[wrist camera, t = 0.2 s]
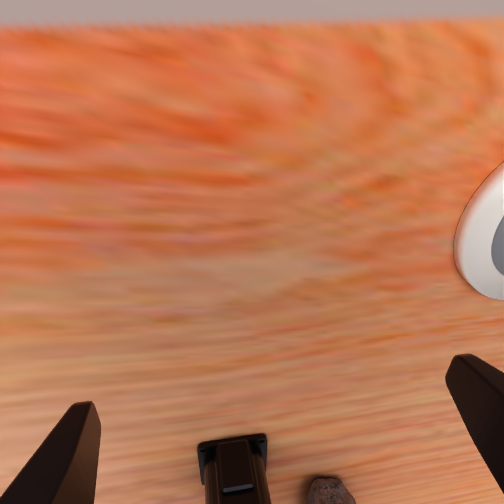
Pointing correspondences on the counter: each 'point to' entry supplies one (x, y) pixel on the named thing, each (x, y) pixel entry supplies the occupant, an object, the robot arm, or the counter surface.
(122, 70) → the counter surface
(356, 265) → the counter surface
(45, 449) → the robot arm
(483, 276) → the serving plate
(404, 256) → the counter surface
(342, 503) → the perforated stone tool
